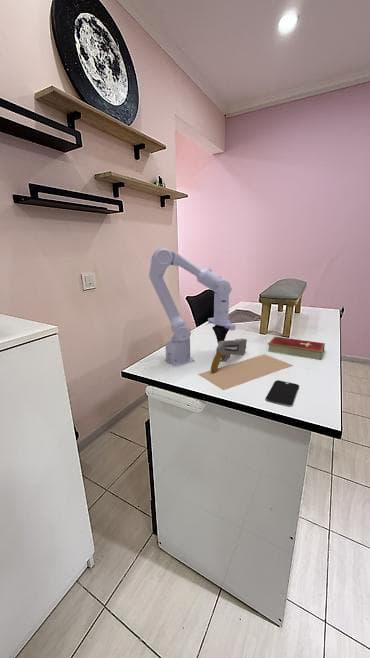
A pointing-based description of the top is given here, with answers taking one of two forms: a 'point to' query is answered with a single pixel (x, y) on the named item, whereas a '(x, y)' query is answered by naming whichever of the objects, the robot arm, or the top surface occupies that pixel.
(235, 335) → the top surface
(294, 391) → the smartphone
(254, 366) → the mat
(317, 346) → the hardcover book
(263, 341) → the top surface
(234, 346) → the gun
